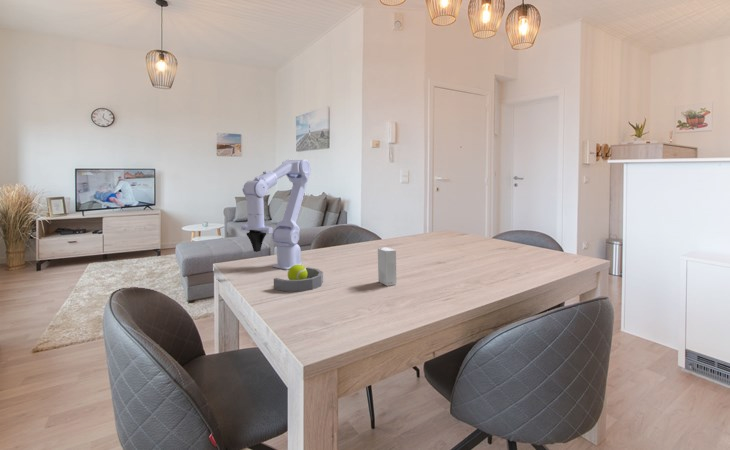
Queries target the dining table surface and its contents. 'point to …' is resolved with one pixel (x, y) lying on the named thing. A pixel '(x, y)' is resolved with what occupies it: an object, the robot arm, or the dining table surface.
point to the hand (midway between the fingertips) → (257, 251)
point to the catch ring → (301, 282)
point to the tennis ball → (297, 272)
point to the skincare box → (387, 266)
